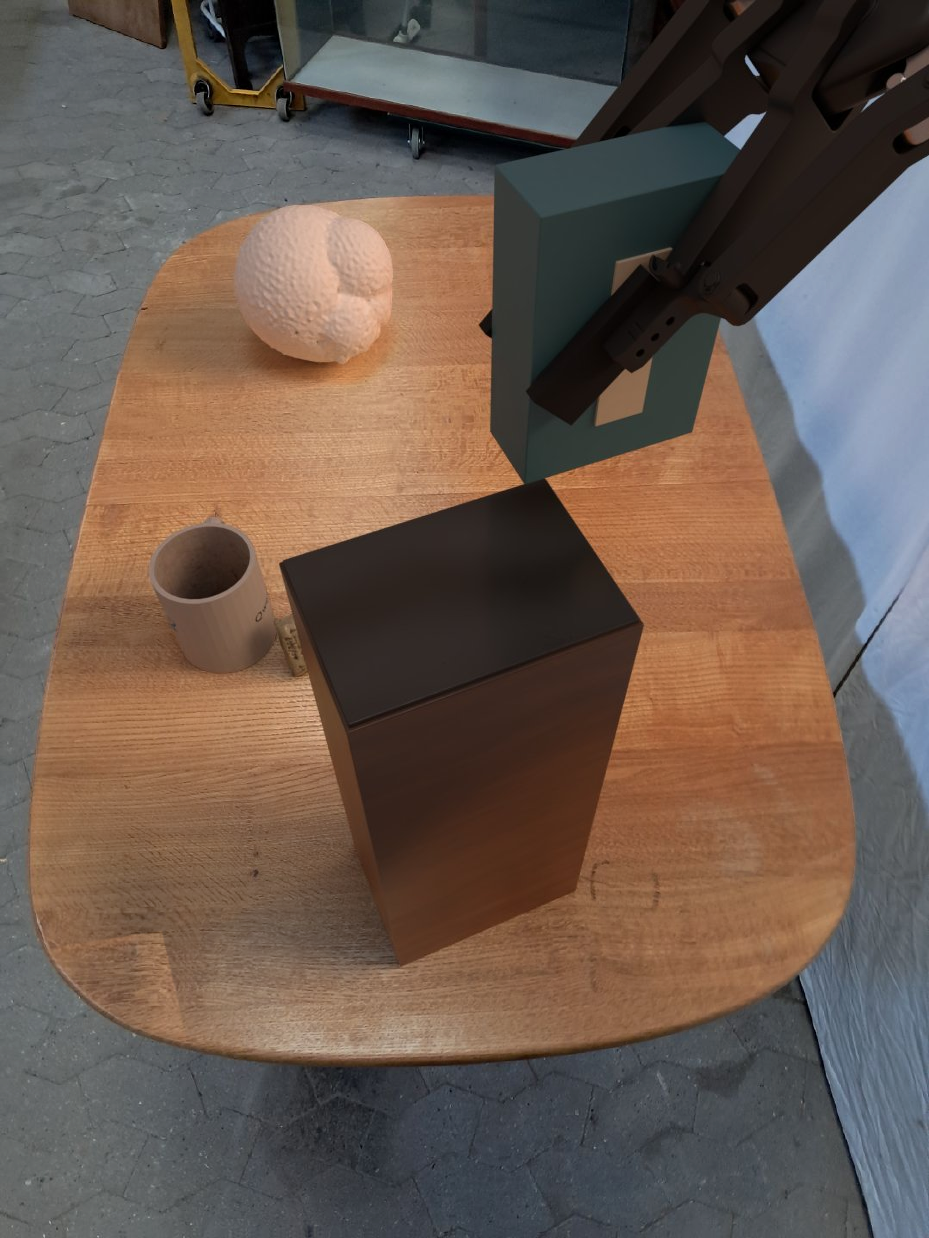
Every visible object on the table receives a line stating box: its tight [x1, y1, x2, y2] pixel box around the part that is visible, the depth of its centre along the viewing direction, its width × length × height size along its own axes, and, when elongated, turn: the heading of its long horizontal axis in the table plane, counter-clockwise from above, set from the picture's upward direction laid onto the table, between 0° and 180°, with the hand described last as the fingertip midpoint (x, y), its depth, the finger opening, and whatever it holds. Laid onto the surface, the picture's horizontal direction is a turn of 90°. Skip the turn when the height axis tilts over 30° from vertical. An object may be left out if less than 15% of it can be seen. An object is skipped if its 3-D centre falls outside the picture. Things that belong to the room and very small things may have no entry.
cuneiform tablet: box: [274, 613, 308, 677], centre depth 78 cm, size 7×4×12 cm
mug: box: [148, 515, 277, 674], centre depth 79 cm, size 12×9×10 cm
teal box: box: [489, 122, 741, 484], centre depth 39 cm, size 4×9×13 cm, turn 113°
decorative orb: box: [232, 204, 394, 365], centre depth 100 cm, size 20×18×16 cm
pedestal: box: [278, 478, 645, 967], centre depth 55 cm, size 10×14×34 cm
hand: (524, 373), depth 39 cm, fingers closed on teal box, 4 cm apart
